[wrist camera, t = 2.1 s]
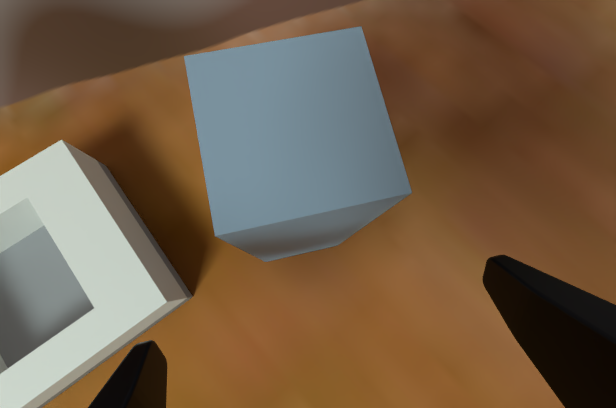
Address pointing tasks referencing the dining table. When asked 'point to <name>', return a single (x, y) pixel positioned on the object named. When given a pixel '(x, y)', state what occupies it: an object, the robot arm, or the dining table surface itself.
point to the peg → (294, 142)
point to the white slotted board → (72, 274)
